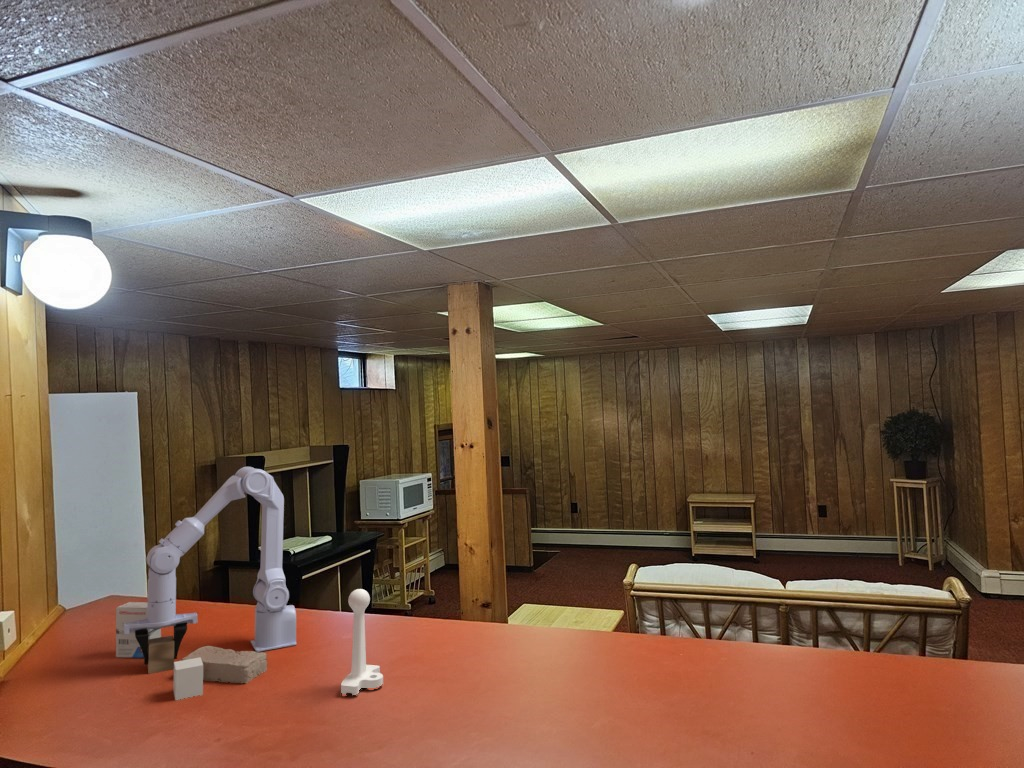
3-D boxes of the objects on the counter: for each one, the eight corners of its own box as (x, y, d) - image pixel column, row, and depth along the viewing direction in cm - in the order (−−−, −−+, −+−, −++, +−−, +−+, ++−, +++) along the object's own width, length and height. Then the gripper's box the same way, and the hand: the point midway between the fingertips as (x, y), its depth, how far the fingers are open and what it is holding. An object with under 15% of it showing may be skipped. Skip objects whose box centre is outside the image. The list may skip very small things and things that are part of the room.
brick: (269, 670, 146) (269, 649, 146) (246, 686, 138) (246, 663, 138) (203, 665, 150) (204, 644, 150) (177, 680, 142) (178, 658, 142)
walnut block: (172, 661, 151) (172, 635, 151) (173, 669, 147) (174, 641, 147) (147, 666, 148) (147, 639, 149) (148, 673, 144) (148, 646, 144)
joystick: (361, 674, 143) (361, 581, 144) (393, 677, 142) (393, 583, 142) (335, 695, 133) (336, 595, 133) (370, 699, 131) (370, 598, 132)
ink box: (162, 651, 158) (162, 601, 158) (148, 659, 153) (149, 607, 153) (128, 650, 159) (129, 600, 159) (114, 657, 154) (115, 606, 154)
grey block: (200, 686, 138) (200, 657, 138) (202, 695, 133) (203, 665, 134) (173, 691, 135) (173, 662, 135) (175, 700, 131) (175, 670, 131)
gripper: (195, 590, 155) (194, 648, 155) (124, 599, 148) (123, 661, 147) (198, 597, 149) (197, 658, 149) (124, 607, 142) (123, 671, 141)
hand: (160, 660), depth 148 cm, fingers closed on walnut block, 5 cm apart
